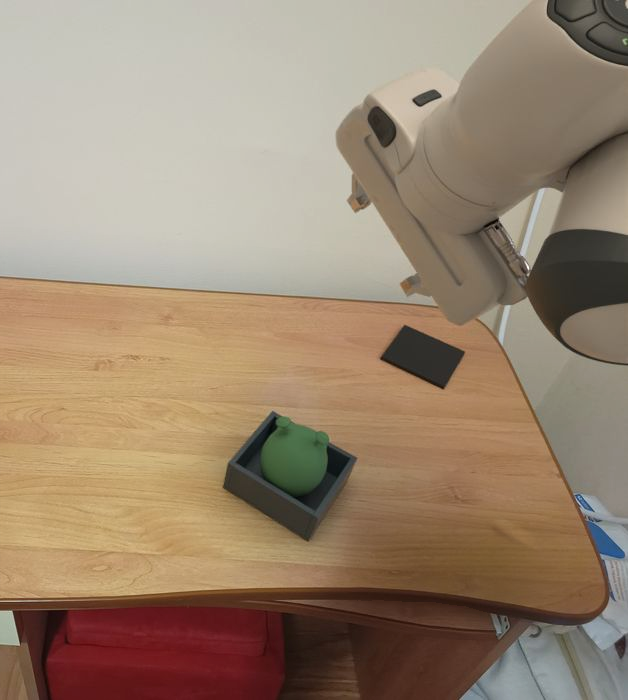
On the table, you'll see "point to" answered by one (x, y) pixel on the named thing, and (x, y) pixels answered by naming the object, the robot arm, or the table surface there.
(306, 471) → the alien toy
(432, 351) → the mat
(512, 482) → the table surface
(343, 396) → the table surface
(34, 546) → the table surface
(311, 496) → the crate
